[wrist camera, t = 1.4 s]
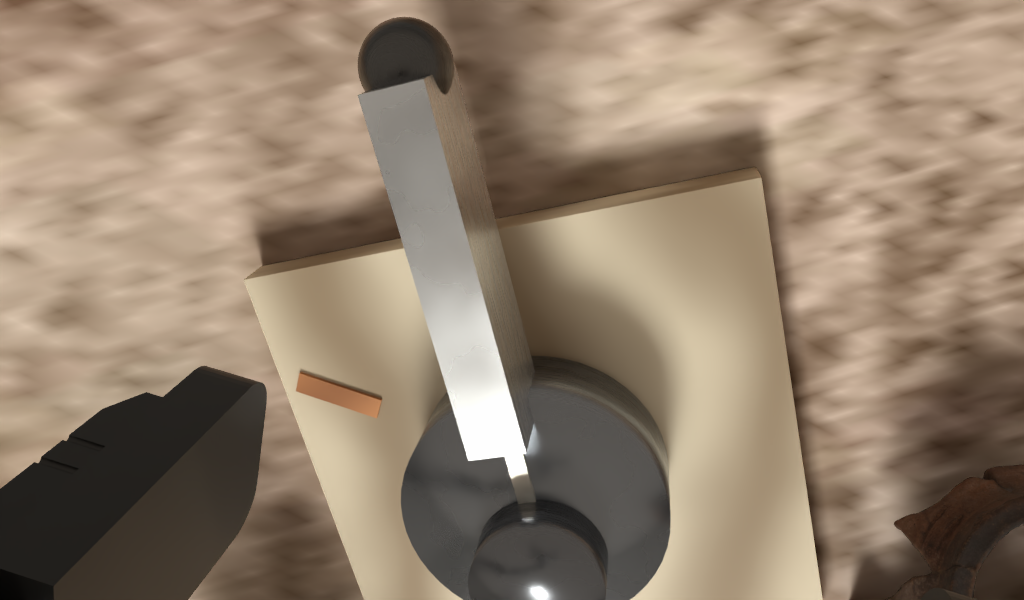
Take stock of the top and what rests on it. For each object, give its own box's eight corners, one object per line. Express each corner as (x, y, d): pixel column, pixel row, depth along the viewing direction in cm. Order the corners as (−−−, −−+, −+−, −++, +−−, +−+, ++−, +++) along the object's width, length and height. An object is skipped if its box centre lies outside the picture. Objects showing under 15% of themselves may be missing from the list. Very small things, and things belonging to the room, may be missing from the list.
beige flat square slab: (398, 639, 36) (388, 668, 35) (261, 266, 31) (242, 281, 29) (820, 606, 32) (828, 637, 31) (755, 166, 26) (761, 178, 25)
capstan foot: (688, 555, 30) (694, 654, 26) (459, 577, 32) (428, 672, 28) (567, -26, 23) (548, -26, 19) (287, 49, 26) (212, 65, 21)
